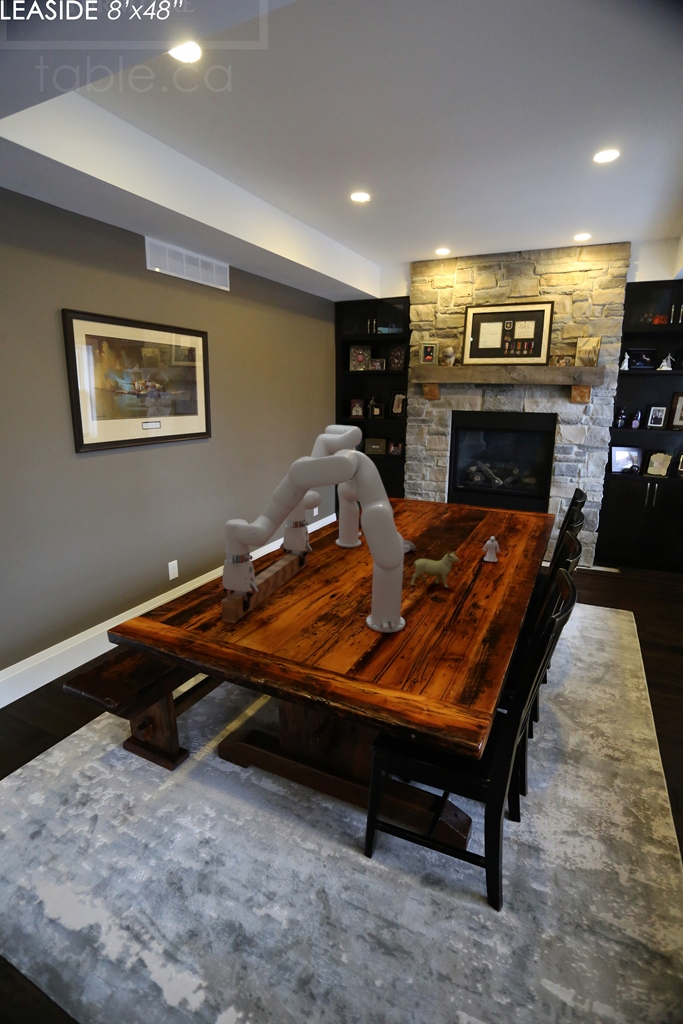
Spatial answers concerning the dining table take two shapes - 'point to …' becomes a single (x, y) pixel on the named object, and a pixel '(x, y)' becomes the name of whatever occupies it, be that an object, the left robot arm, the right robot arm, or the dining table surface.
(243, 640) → the dining table surface
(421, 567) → the toy
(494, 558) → the figurine
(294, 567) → the beam
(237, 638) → the dining table surface
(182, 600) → the dining table surface
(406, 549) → the seashell
